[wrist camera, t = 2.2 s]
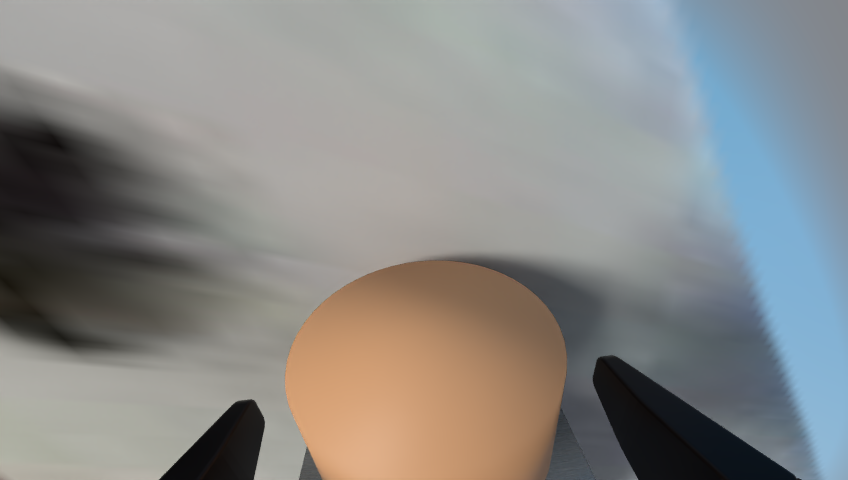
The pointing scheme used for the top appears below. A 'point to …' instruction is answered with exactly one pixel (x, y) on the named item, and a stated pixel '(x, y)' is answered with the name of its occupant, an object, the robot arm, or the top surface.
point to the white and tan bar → (429, 377)
